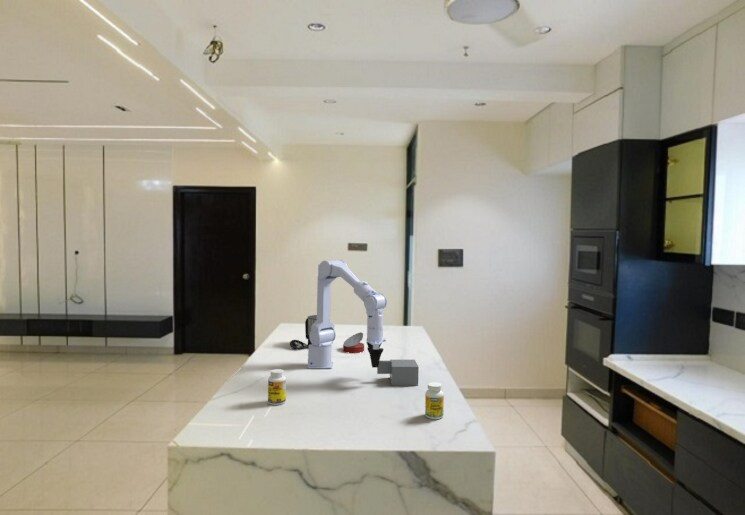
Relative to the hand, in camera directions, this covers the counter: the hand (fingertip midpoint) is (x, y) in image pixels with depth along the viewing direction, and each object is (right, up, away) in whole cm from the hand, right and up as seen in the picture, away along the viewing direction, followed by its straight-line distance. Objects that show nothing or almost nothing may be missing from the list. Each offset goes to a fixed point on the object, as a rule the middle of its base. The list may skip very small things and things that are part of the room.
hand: (374, 364), depth 163 cm
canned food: (-9, -5, +45) cm, 46 cm away
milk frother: (-31, -4, +49) cm, 58 cm away
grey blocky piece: (+8, -6, +1) cm, 10 cm away
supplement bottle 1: (-31, -7, -21) cm, 38 cm away
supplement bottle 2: (+18, -8, -31) cm, 36 cm away
